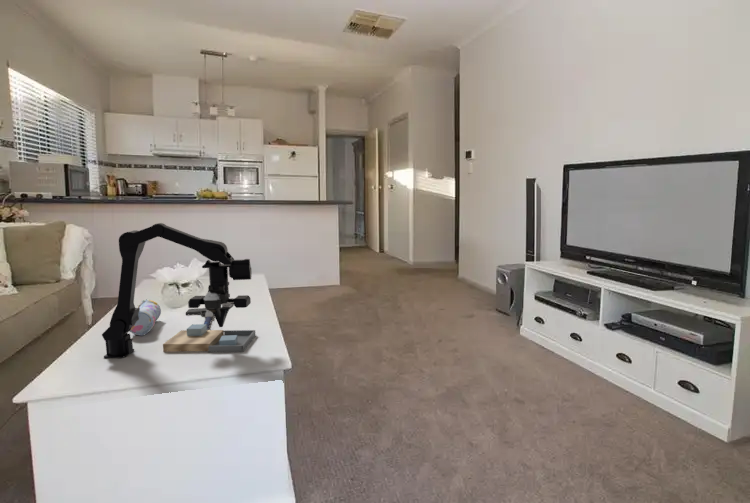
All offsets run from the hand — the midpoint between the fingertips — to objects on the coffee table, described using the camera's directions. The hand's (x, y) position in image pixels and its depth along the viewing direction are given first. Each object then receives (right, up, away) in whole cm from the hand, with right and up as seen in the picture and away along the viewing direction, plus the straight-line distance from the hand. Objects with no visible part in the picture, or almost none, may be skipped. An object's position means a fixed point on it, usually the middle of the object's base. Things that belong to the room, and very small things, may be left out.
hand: (221, 326), depth 144 cm
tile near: (+2, -6, +2) cm, 7 cm away
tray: (+3, -6, +4) cm, 8 cm away
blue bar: (-20, -4, +29) cm, 36 cm away
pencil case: (-37, -5, +22) cm, 43 cm away
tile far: (-11, -4, +7) cm, 14 cm away
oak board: (-10, -7, +4) cm, 13 cm away
